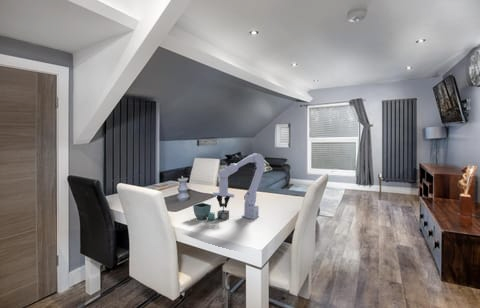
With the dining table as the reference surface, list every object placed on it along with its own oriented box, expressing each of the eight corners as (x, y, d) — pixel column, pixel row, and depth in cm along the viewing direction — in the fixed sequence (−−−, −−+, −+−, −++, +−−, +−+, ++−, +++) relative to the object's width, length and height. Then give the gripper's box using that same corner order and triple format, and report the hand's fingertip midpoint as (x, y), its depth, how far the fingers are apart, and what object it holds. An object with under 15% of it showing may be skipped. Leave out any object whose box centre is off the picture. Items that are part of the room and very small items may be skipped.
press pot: (232, 217, 163) (232, 210, 163) (223, 220, 156) (223, 214, 155) (224, 214, 168) (224, 208, 167) (215, 218, 160) (215, 211, 160)
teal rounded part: (216, 219, 158) (216, 213, 157) (211, 221, 154) (211, 214, 154) (211, 218, 160) (211, 211, 160) (206, 219, 157) (206, 213, 156)
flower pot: (202, 215, 166) (202, 202, 166) (211, 217, 161) (211, 204, 160) (192, 218, 160) (192, 205, 159) (201, 221, 154) (201, 207, 153)
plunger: (226, 212, 161) (226, 203, 160) (223, 213, 159) (223, 204, 158) (223, 211, 163) (223, 203, 162) (220, 212, 160) (220, 203, 160)
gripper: (235, 186, 161) (235, 206, 162) (215, 185, 165) (215, 204, 166) (232, 188, 154) (231, 209, 155) (211, 187, 159) (211, 207, 160)
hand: (223, 207), depth 160 cm, fingers closed on plunger, 3 cm apart
